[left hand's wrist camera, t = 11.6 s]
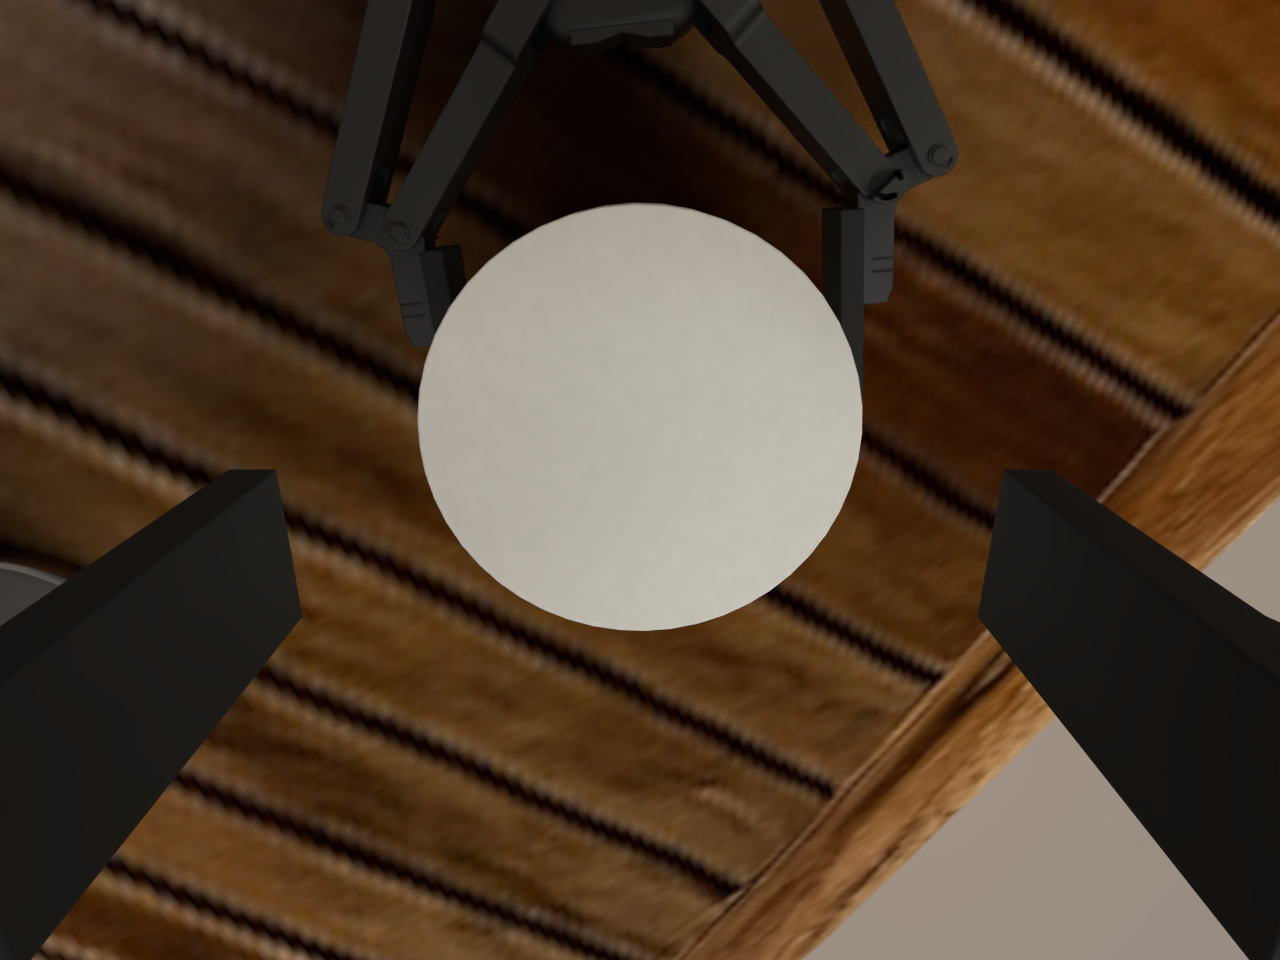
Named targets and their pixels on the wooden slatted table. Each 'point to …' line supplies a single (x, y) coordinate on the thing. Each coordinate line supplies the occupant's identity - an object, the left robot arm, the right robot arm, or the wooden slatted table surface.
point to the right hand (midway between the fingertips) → (656, 415)
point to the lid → (639, 417)
